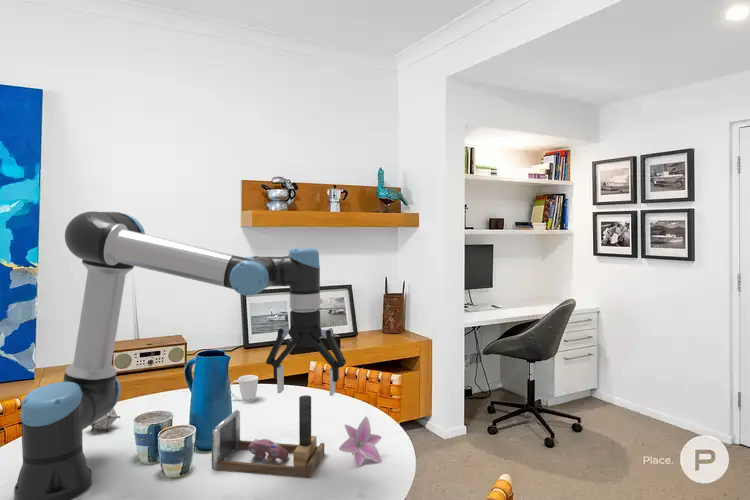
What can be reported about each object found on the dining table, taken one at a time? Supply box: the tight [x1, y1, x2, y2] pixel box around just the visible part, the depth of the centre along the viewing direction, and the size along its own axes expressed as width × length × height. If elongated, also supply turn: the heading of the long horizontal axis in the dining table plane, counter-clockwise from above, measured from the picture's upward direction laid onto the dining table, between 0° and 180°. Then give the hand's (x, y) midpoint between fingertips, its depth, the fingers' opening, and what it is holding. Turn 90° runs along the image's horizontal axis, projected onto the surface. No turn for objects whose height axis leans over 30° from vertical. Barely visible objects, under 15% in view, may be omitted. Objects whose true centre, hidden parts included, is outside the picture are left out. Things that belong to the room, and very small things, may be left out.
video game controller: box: [248, 438, 290, 463], centre depth 132 cm, size 10×5×7 cm, turn 69°
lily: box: [338, 416, 382, 469], centre depth 133 cm, size 12×12×10 cm
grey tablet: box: [210, 409, 241, 471], centre depth 133 cm, size 14×2×11 cm, turn 171°
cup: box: [230, 374, 259, 404], centre depth 177 cm, size 7×10×8 cm
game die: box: [90, 407, 121, 433], centre depth 152 cm, size 9×8×10 cm
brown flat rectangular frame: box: [217, 439, 325, 479], centre depth 132 cm, size 13×24×3 cm, turn 81°
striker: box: [292, 394, 318, 467], centre depth 130 cm, size 10×3×17 cm, turn 171°
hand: (306, 392), depth 129 cm, fingers open, 13 cm apart
